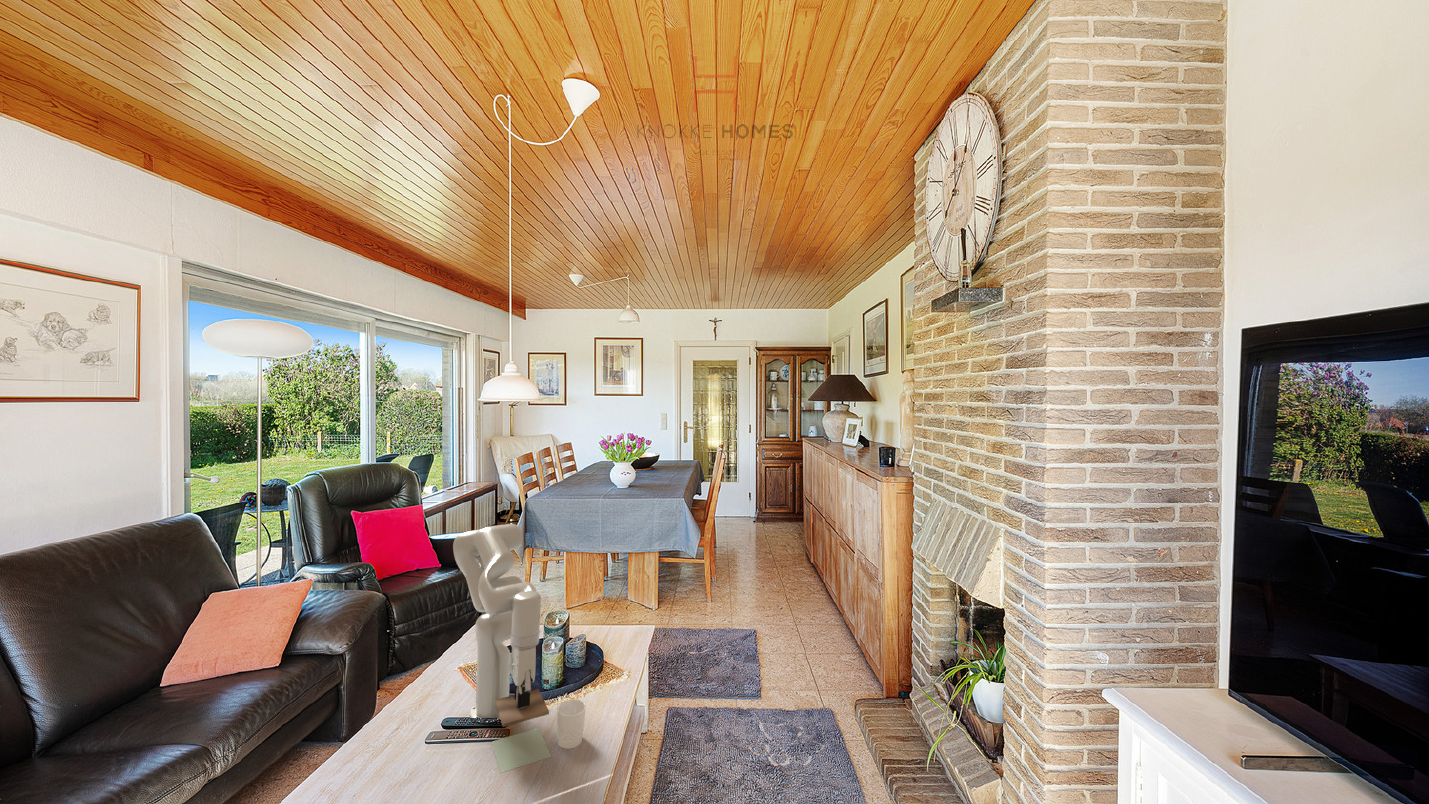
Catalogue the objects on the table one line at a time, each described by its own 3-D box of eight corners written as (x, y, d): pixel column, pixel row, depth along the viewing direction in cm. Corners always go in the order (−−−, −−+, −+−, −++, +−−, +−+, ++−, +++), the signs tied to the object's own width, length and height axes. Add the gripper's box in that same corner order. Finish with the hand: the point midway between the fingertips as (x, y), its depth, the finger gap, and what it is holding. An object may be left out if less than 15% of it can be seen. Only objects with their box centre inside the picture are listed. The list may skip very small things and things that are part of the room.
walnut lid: (494, 702, 147) (495, 682, 147) (538, 691, 153) (539, 672, 153) (502, 727, 137) (503, 705, 136) (548, 714, 143) (550, 693, 143)
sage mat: (491, 743, 147) (491, 741, 147) (538, 729, 154) (538, 727, 154) (500, 774, 135) (500, 772, 135) (550, 757, 142) (551, 756, 142)
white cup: (576, 753, 144) (577, 717, 144) (550, 748, 146) (552, 713, 146) (588, 735, 152) (590, 701, 152) (564, 731, 154) (565, 697, 154)
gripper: (505, 628, 149) (502, 690, 150) (517, 654, 136) (513, 723, 136) (532, 623, 153) (529, 684, 154) (546, 648, 140) (542, 715, 140)
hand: (521, 701), depth 145 cm, fingers closed on walnut lid, 3 cm apart
